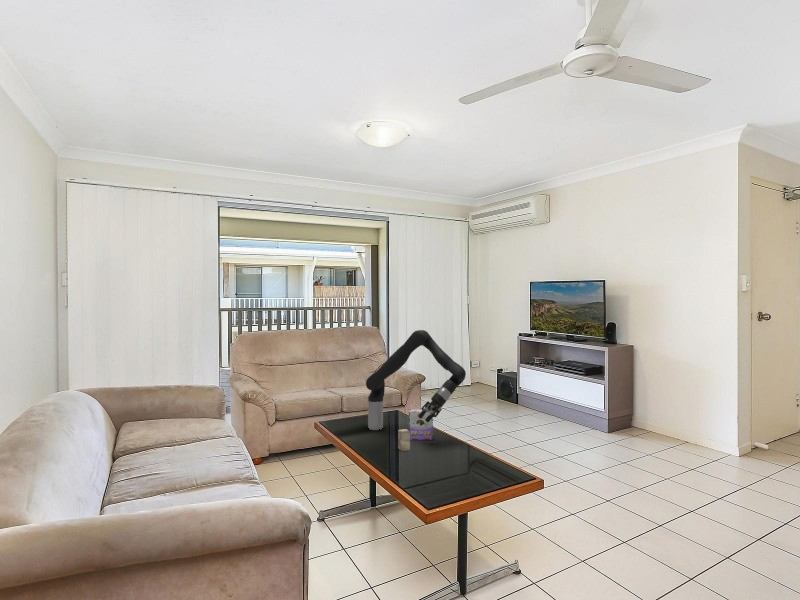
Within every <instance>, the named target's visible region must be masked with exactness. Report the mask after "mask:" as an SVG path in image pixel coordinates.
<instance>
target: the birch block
mask: <svg viewBox="0 0 800 600" xmlns="http://www.w3.org/2000/svg"><path fill="white" fill-rule="evenodd" d="M397 430H398V440H397V441H398V442H397V443H398V450H400V451H401V452H406V451H411V444H410V443H411V440H410V431H409V429H407V428H405V429H403V428H402V429H397Z"/></svg>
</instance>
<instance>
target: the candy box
mask: <svg viewBox="0 0 800 600" xmlns="http://www.w3.org/2000/svg"><path fill="white" fill-rule="evenodd" d="M421 412H422V409H421V408H420V409H417V408H416V409H414V408H412V409H411V408H410V409H409V411H408V430H409V431H410V441H413V440H414V441H417V440H418V441H433V438H434V419H433V418H434V417H433V418H432V419H431V420H430V421H429V422H426V421H425V419H426V418H427V417H428V416H429V415H430V412H427V413H425V415H424V416H423V417H422V418H421V419H420V418H419V417H418V416H419V414H420V413H421Z"/></svg>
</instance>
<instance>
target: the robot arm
mask: <svg viewBox="0 0 800 600" xmlns="http://www.w3.org/2000/svg"><path fill="white" fill-rule="evenodd" d="M421 346H422V347H424V348H426V349H427V350H428V351H429V352H430V353H431V355H432V356H433V358H434V360H435V361H436V362H437V363H438V364H439V365H440V366H441V367H442V368H443V369H444V370H445V371H448V372H449V373H450V374H452V375H451V376H450V377H449V379H446V381H445V382H444V383H443V384H442V385H441V386H440V387H439V388H438V389H437V391H436V392H435V393H434V394H433V395H432V397H431V398H430V399H431V401H428V400H427V401H426V402H425V403H424V404H423V406H422V407H421V408H420V409H422V412H421V413H420V414H419V416H418V417H419V418H420V419H421V418H422V417H423V416H424V415H425V413H427V412H430V415H429V416H428V417H427V418H426V419H425V421H426V422H429V421H430V420H431V419H432V418H437V416H438V415H439V414H440V412H441V411H442V410H443V408H442V407H444V405H446V402H447V401H448V400H449V399H450V398H451V396H452V394H453V393H454V392H455V391H456V390H457V388H458V387H459V386H460V385H461V384H462V383H463V382H464V380H465V379H466V375H467V373H466V372H467V371H466V370H465V368H464V367H462V366H461V365H460V364H459V363H457V362H456V361H454V360H453V359H452V357H450V356H449V355H448V354H447V353H446V352H445V351H444V350H443V349H442V348H441V347H440V346H439V345H438V344H437V343H436V341H435V340H434V339H433V337H432V336H431V335H430V334H429V332H428V331H427V330H424V329H418V330H414V332H412V333H411V335H410V336H409V337H408V338H407V340H406V341H405V342H404V343H403V344H401V346H399V347H398V348H397V349H396V351H394V352H393V353H392V354H391V355H390V356H389V358H387V359H386V361H384V362H383V364H382V365H380V367H379V368H378V369H377V370H376V371H374V372H373V373H372V374H370V375H369V376H368V377H367V378H366V382H365V386H366V389H368V390H369V391H370V394H369V395H368V399H367V403H368V404H367V405H368V407H367V409H368V411H367V416H368V417H367V427H368V428H369V430H371V431H380V430H383V429H384V397H385V388H386V387H385V386H386V385H385V383H386V379H387V378H388V377H390V376H392V375H393V374H395V373H396V372H398V370H400V369H401V368H402V367H403V366H404V365H405V364H406V363H407V361H408V360H409V358H410V356H411V355H412V354H413V352H414V351H416V350H417V349H418V348H419V347H421ZM382 428H383V429H382ZM379 429H380V430H379Z"/></svg>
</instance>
